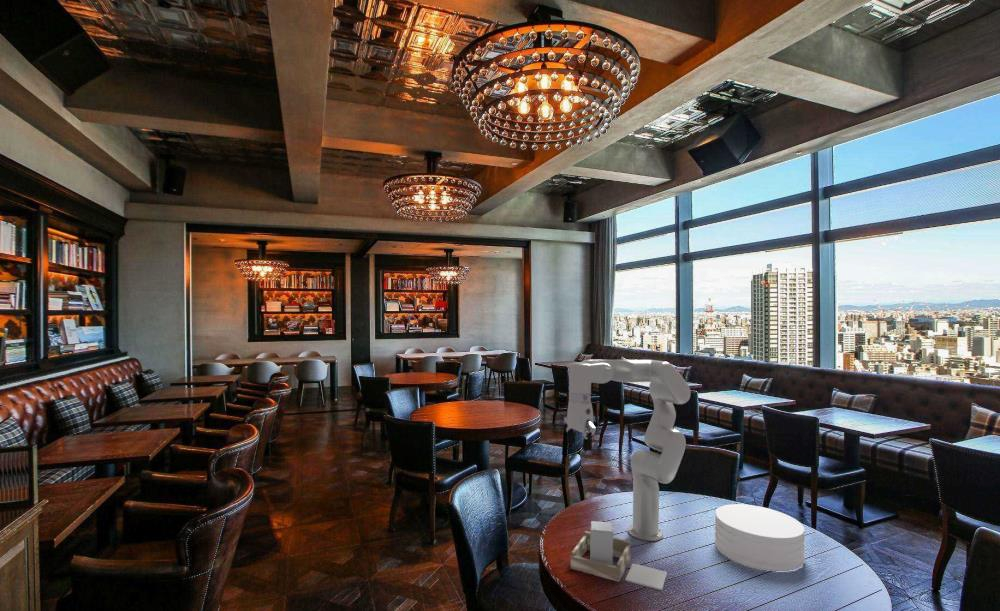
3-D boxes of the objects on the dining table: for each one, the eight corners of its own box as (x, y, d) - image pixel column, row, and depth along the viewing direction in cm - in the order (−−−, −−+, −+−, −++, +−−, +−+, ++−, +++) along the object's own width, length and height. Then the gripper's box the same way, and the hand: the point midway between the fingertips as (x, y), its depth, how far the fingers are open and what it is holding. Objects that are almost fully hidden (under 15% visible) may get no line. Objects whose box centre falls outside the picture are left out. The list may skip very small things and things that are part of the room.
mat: (632, 564, 160) (632, 563, 160) (667, 573, 155) (667, 571, 155) (625, 580, 150) (625, 579, 150) (661, 590, 145) (661, 589, 145)
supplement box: (612, 570, 156) (613, 532, 156) (589, 568, 158) (590, 529, 158) (612, 559, 163) (612, 522, 164) (590, 557, 165) (590, 520, 165)
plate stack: (719, 527, 190) (719, 498, 190) (802, 545, 176) (802, 514, 176) (710, 558, 166) (711, 525, 166) (806, 582, 152) (806, 545, 152)
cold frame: (585, 547, 171) (585, 530, 171) (630, 559, 164) (630, 541, 164) (570, 568, 157) (570, 550, 157) (619, 581, 150) (619, 562, 150)
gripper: (604, 401, 162) (603, 452, 162) (574, 393, 178) (573, 439, 177) (586, 402, 159) (585, 454, 159) (557, 394, 174) (556, 441, 174)
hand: (578, 446), depth 168 cm, fingers open, 9 cm apart
